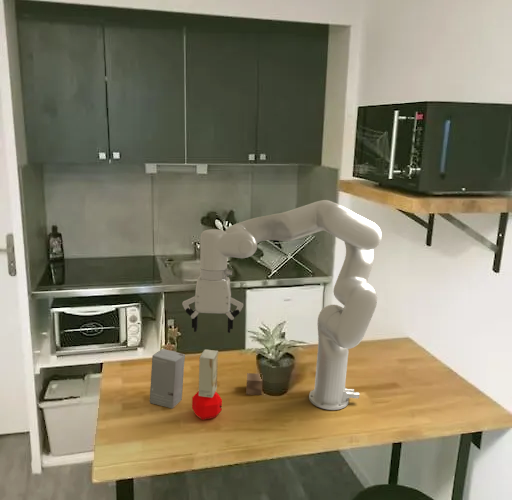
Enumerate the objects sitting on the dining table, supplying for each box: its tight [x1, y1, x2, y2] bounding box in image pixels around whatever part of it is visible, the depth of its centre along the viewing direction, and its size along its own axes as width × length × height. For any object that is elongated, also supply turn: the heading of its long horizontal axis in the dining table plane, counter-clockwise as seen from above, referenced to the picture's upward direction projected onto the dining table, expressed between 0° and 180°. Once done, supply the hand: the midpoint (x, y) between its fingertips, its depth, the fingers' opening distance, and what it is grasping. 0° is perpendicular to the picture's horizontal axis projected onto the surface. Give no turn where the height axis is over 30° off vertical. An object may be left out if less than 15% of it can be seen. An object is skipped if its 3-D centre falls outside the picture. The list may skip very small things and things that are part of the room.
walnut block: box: [245, 372, 263, 396], centre depth 171 cm, size 5×5×5 cm
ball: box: [191, 390, 223, 421], centre depth 155 cm, size 8×8×8 cm
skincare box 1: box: [149, 348, 186, 409], centre depth 161 cm, size 8×7×16 cm
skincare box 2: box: [198, 349, 219, 398], centre depth 153 cm, size 6×4×12 cm
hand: (212, 330), depth 151 cm, fingers open, 9 cm apart
